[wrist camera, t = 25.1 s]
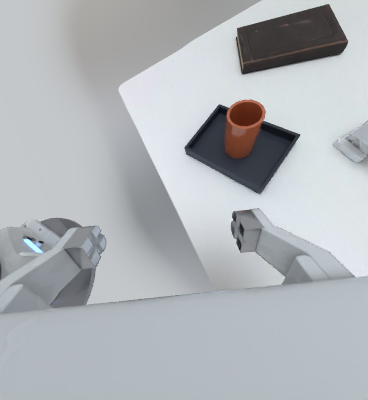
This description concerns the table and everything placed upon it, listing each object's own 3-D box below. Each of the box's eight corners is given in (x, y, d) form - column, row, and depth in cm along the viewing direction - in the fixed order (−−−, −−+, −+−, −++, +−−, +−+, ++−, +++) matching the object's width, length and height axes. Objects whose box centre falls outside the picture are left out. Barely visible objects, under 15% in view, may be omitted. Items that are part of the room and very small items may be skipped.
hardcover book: (236, 38, 46) (237, 28, 43) (323, 16, 41) (329, 3, 39) (242, 75, 41) (243, 65, 39) (341, 54, 36) (349, 42, 34)
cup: (218, 151, 35) (219, 120, 26) (233, 131, 35) (239, 95, 27) (243, 163, 32) (252, 133, 24) (258, 142, 33) (272, 106, 25)
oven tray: (186, 153, 37) (184, 147, 35) (218, 112, 39) (219, 104, 36) (259, 194, 30) (263, 190, 28) (294, 142, 32) (300, 134, 30)
